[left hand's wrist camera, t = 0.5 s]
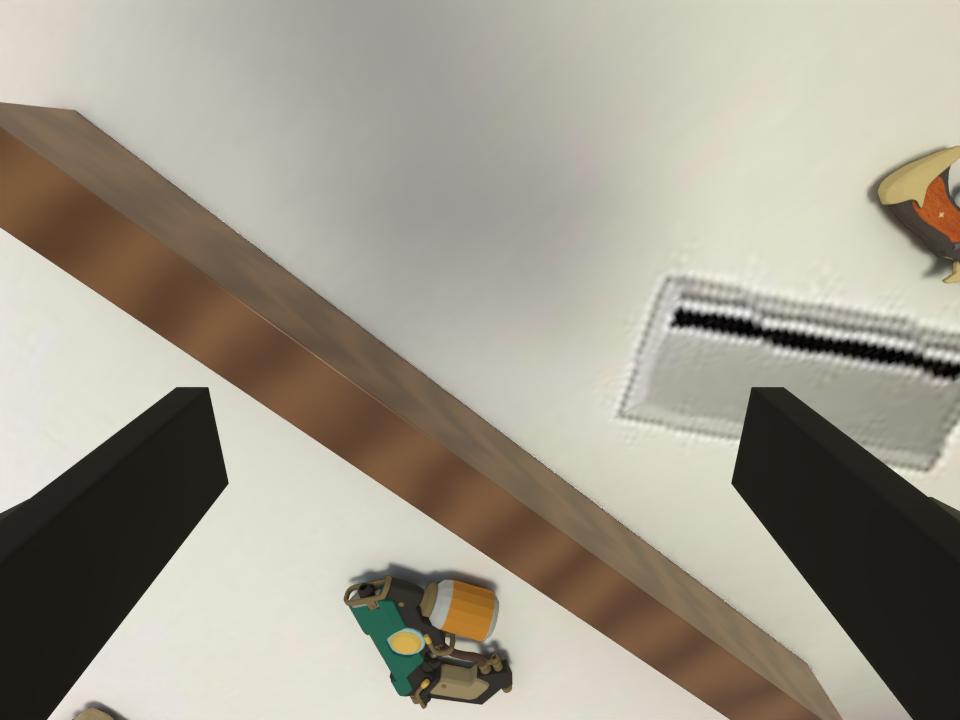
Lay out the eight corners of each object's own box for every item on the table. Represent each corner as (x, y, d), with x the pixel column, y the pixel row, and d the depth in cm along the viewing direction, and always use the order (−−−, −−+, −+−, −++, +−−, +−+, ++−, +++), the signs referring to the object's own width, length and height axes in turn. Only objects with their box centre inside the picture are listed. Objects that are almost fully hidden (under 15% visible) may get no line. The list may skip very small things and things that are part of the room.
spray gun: (511, 681, 53) (368, 677, 54) (513, 563, 46) (348, 560, 47) (512, 725, 50) (358, 720, 50) (514, 603, 42) (334, 599, 43)
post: (42, 172, 35) (-76, 177, 27) (74, 109, 33) (-42, 97, 26) (767, 690, 53) (813, 776, 46) (807, 664, 52) (861, 748, 44)
